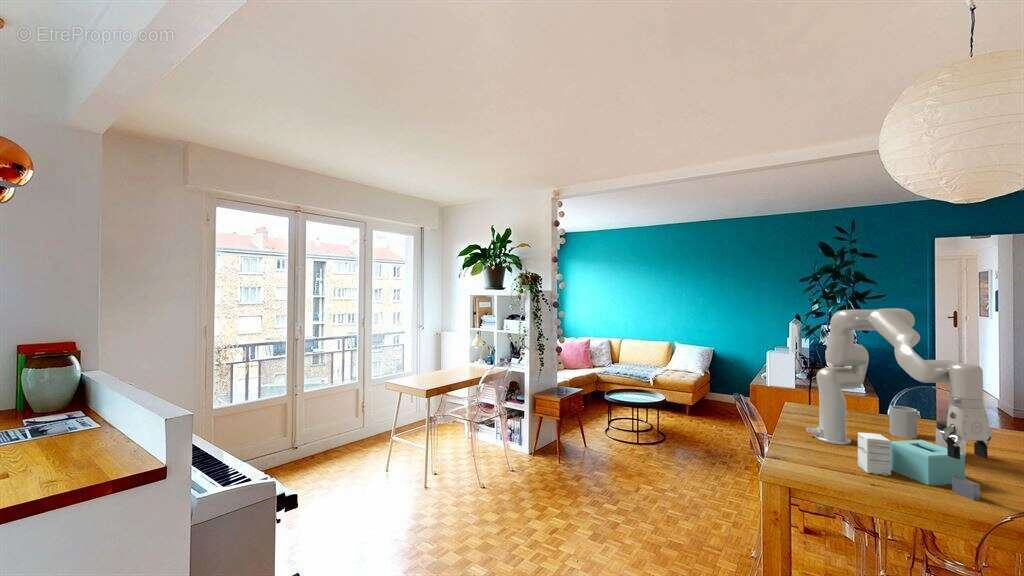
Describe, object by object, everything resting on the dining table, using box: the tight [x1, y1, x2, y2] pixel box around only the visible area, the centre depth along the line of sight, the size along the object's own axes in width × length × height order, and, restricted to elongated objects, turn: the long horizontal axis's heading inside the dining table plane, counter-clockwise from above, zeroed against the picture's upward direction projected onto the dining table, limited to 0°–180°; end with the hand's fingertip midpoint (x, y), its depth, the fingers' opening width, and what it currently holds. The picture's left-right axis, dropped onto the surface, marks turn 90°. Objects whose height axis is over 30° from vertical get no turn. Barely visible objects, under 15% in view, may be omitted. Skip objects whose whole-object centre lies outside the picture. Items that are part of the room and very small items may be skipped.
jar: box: [935, 420, 967, 457], centre depth 174 cm, size 9×8×12 cm
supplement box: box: [857, 431, 892, 476], centre depth 158 cm, size 7×7×13 cm
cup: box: [889, 405, 918, 439], centre depth 197 cm, size 9×9×12 cm
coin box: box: [890, 439, 966, 486], centre depth 154 cm, size 14×14×10 cm
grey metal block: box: [951, 476, 981, 501], centre depth 139 cm, size 2×6×5 cm, turn 6°
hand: (967, 457), depth 138 cm, fingers open, 9 cm apart
